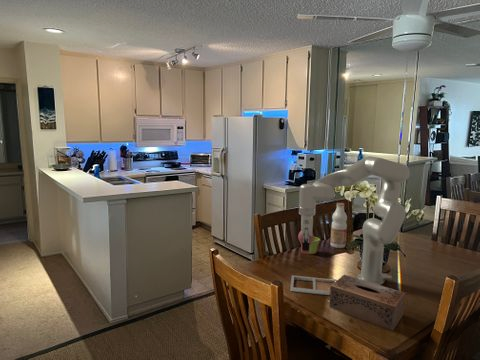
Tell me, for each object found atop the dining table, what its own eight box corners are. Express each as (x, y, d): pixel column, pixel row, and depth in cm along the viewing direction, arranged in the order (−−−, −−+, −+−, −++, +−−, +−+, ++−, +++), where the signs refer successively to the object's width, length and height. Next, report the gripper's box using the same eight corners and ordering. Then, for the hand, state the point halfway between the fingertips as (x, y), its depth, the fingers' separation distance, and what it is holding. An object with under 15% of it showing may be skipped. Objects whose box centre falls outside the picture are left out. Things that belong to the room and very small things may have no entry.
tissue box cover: (403, 315, 141) (405, 292, 139) (392, 331, 129) (395, 306, 128) (342, 295, 157) (344, 274, 155) (329, 307, 145) (330, 285, 144)
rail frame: (336, 282, 168) (336, 279, 168) (339, 296, 155) (339, 293, 154) (291, 278, 172) (291, 275, 172) (290, 291, 159) (290, 288, 159)
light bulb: (309, 257, 157) (310, 232, 155) (295, 254, 161) (296, 230, 159) (315, 253, 163) (316, 228, 161) (301, 250, 167) (301, 226, 165)
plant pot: (303, 249, 213) (303, 235, 212) (318, 250, 212) (319, 236, 211) (303, 254, 204) (304, 240, 203) (319, 255, 203) (320, 241, 202)
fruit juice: (327, 243, 224) (330, 202, 220) (340, 242, 226) (343, 201, 222) (334, 248, 215) (337, 205, 211) (348, 247, 217) (351, 204, 213)
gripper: (315, 216, 149) (313, 255, 152) (314, 207, 166) (313, 242, 169) (298, 215, 151) (296, 253, 154) (299, 206, 168) (298, 240, 171)
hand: (305, 247), depth 161 cm, fingers closed on light bulb, 6 cm apart
